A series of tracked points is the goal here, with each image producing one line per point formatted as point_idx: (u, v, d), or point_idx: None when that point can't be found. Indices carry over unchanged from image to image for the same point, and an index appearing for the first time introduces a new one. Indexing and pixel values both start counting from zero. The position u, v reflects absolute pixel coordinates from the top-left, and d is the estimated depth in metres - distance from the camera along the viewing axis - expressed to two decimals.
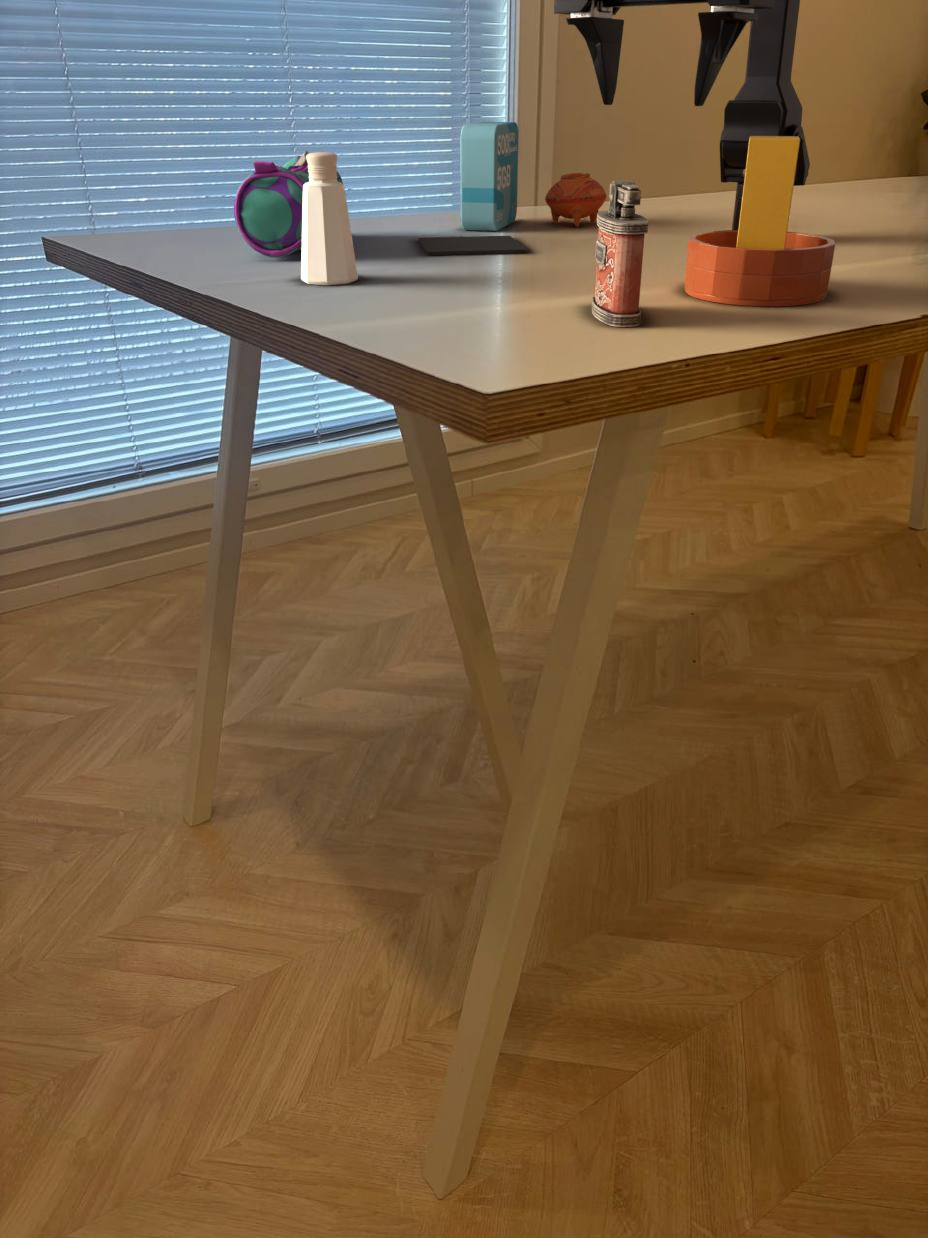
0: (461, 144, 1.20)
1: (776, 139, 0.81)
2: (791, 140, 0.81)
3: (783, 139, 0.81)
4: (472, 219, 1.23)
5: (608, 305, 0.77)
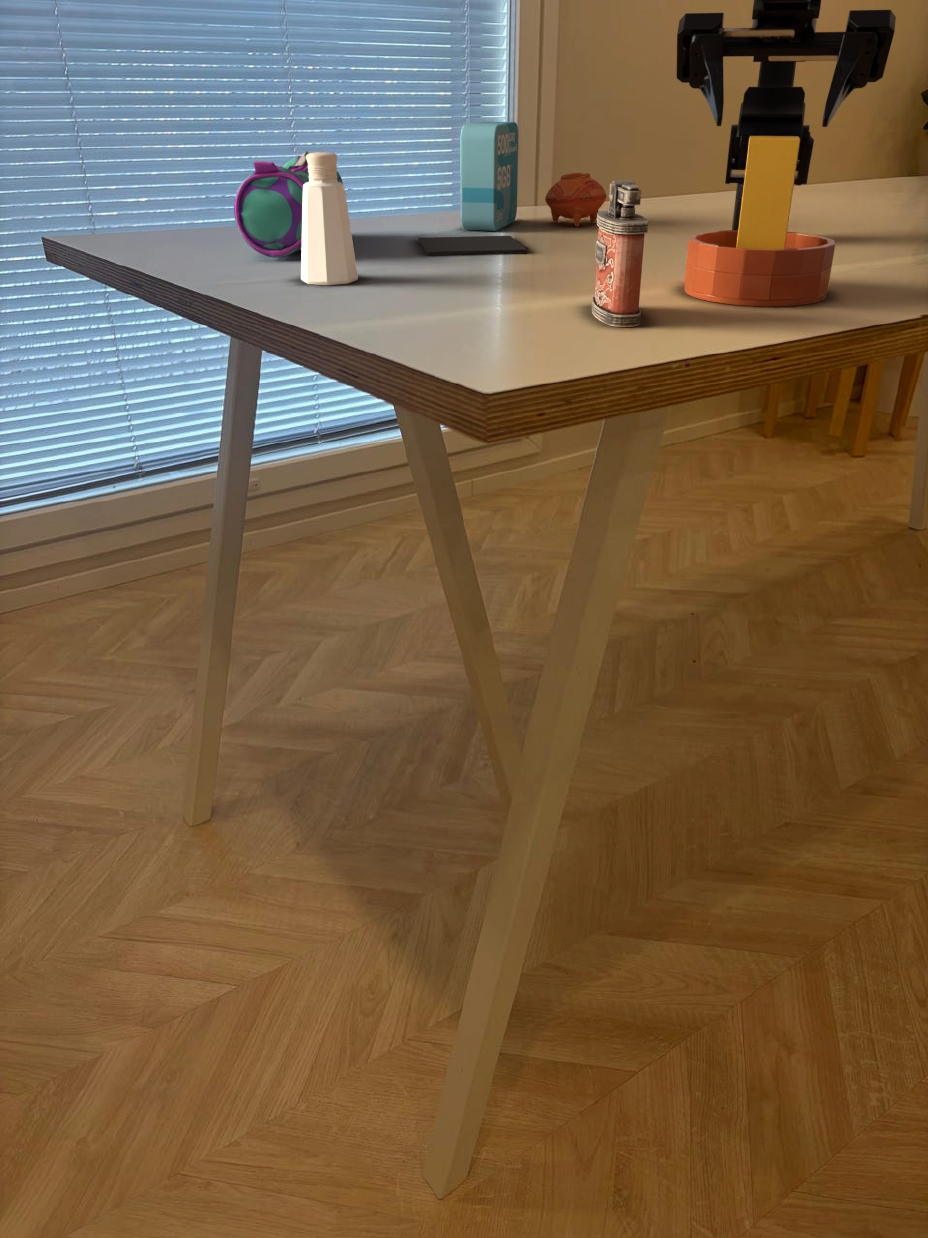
0: (461, 144, 1.20)
1: (776, 139, 0.81)
2: (791, 140, 0.81)
3: (783, 139, 0.81)
4: (472, 219, 1.23)
5: (608, 305, 0.77)
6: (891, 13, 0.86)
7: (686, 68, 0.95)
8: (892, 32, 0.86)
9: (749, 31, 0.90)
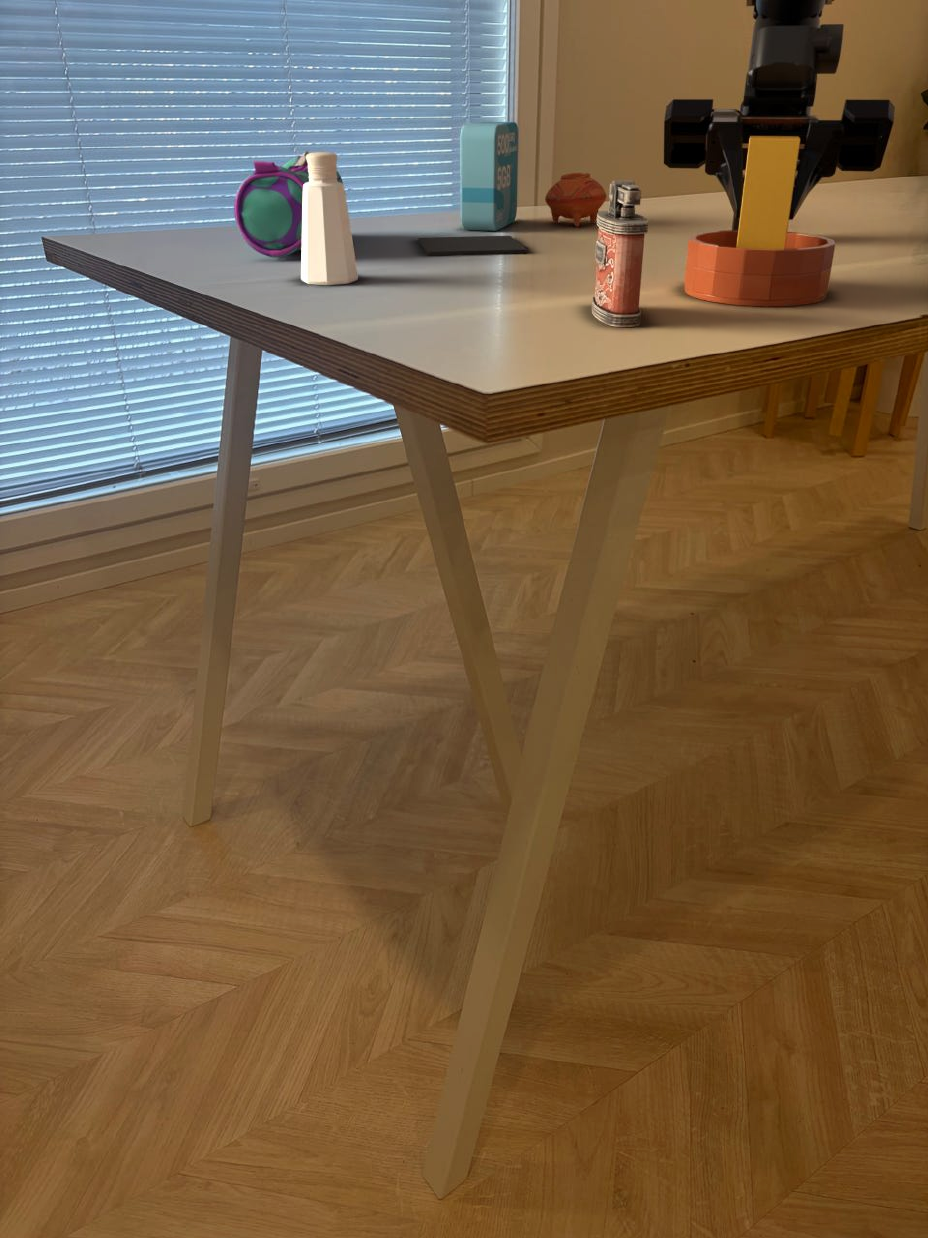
0: (461, 144, 1.20)
1: (776, 139, 0.81)
2: (791, 140, 0.81)
3: (783, 139, 0.81)
4: (472, 219, 1.23)
5: (608, 305, 0.77)
6: (890, 103, 0.82)
7: (674, 153, 0.91)
8: (891, 123, 0.82)
9: (770, 119, 0.85)
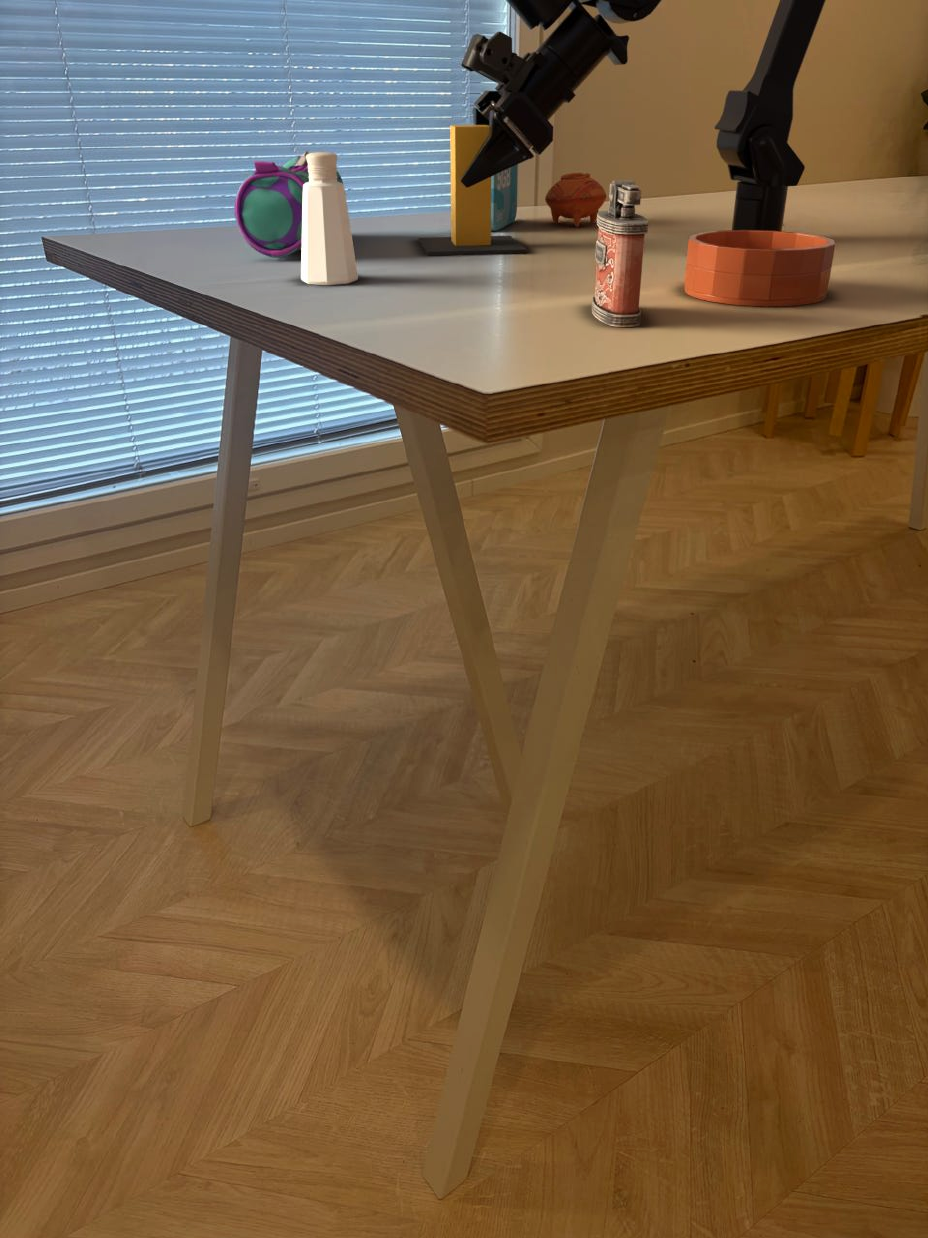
0: None
1: (452, 126, 1.07)
2: (453, 127, 1.06)
3: (454, 126, 1.06)
4: None
5: (608, 305, 0.77)
6: (510, 95, 0.98)
7: None
8: (503, 112, 0.99)
9: None
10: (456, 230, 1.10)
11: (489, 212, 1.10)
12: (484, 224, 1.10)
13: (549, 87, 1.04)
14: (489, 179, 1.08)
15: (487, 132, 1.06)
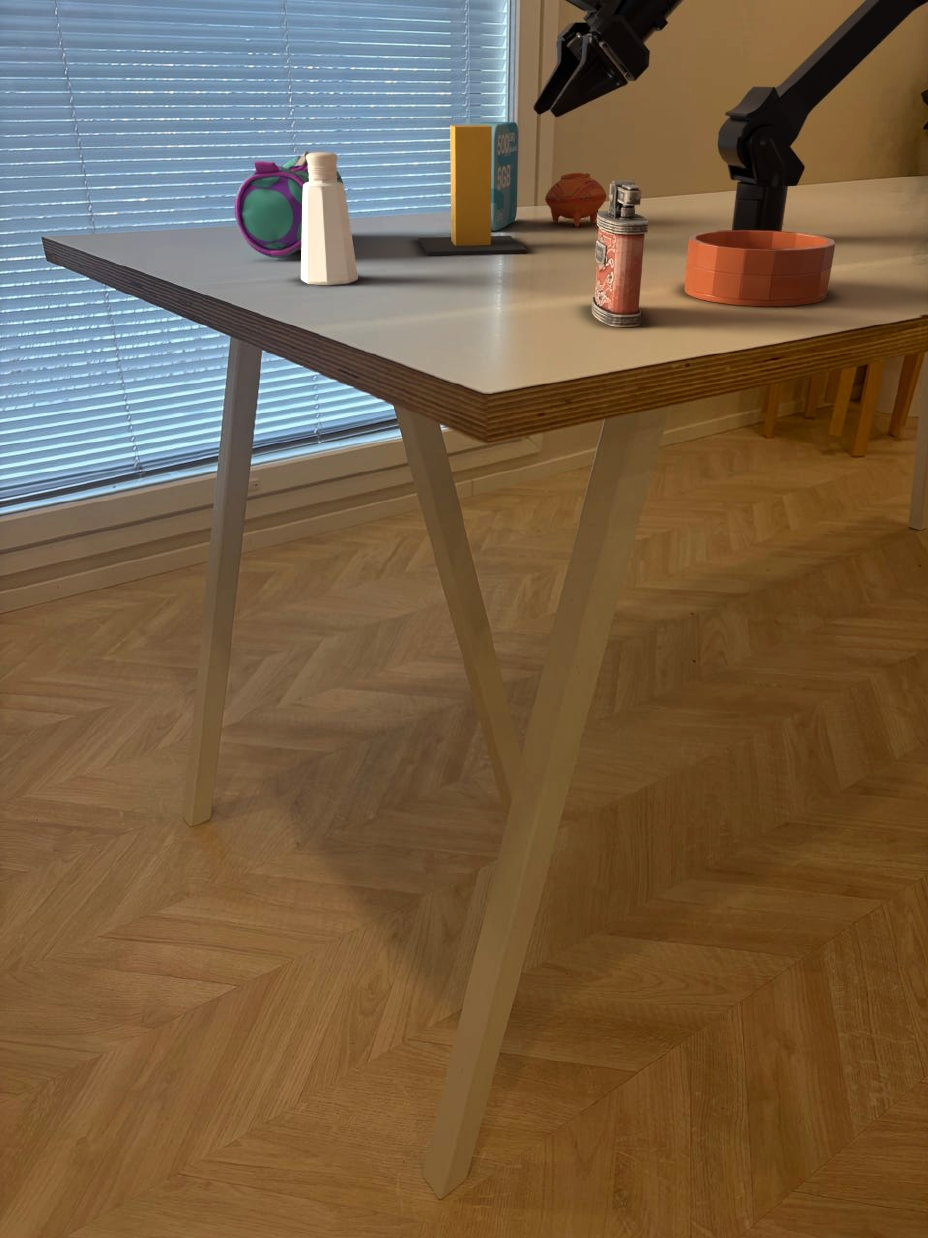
0: None
1: (452, 126, 1.07)
2: (453, 127, 1.06)
3: (454, 126, 1.06)
4: None
5: (608, 305, 0.77)
6: (607, 18, 0.96)
7: None
8: (600, 35, 0.97)
9: None
10: (456, 230, 1.10)
11: (489, 212, 1.10)
12: (484, 224, 1.10)
13: (642, 13, 1.02)
14: (489, 179, 1.08)
15: (487, 132, 1.06)
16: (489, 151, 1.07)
